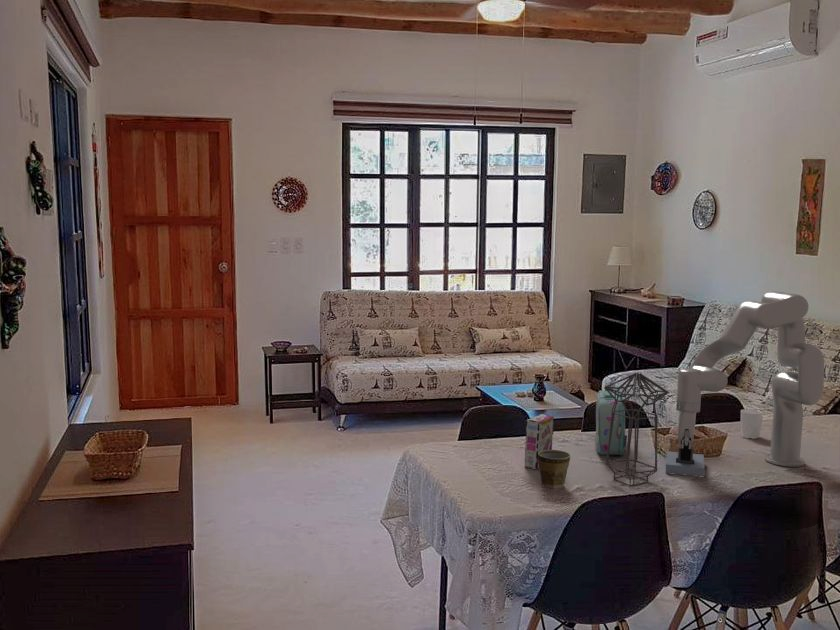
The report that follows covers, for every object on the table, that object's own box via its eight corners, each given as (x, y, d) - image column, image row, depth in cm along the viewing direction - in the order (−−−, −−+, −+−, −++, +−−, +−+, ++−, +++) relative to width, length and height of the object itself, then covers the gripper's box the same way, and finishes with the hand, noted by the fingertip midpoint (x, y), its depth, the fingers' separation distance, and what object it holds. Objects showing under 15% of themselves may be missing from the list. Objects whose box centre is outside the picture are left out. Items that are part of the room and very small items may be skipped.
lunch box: (626, 461, 281) (629, 400, 279) (596, 459, 283) (599, 398, 280) (621, 440, 307) (623, 384, 305) (593, 438, 309) (595, 383, 306)
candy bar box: (537, 470, 269) (539, 422, 267) (524, 467, 272) (525, 419, 270) (552, 462, 278) (554, 415, 276) (539, 459, 281) (541, 413, 279)
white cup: (735, 434, 318) (736, 409, 317) (754, 433, 319) (756, 408, 318) (745, 439, 311) (747, 414, 309) (765, 439, 311) (766, 413, 310)
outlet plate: (666, 459, 283) (667, 450, 283) (703, 463, 280) (703, 454, 279) (665, 473, 268) (665, 463, 268) (703, 477, 265) (704, 467, 264)
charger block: (677, 467, 275) (678, 443, 274) (691, 468, 274) (692, 445, 273) (677, 471, 271) (678, 447, 270) (691, 472, 269) (692, 448, 268)
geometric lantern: (595, 477, 263) (601, 370, 260) (632, 471, 271) (637, 367, 267) (630, 491, 250) (636, 378, 246) (667, 484, 257) (674, 375, 254)
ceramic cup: (574, 489, 251) (576, 457, 250) (545, 491, 248) (546, 460, 247) (556, 476, 264) (557, 446, 262) (527, 478, 261) (528, 448, 260)
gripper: (676, 399, 279) (673, 448, 281) (676, 410, 262) (673, 462, 265) (699, 401, 276) (696, 450, 279) (700, 412, 260) (697, 465, 262)
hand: (685, 456), depth 272 cm, fingers open, 9 cm apart
